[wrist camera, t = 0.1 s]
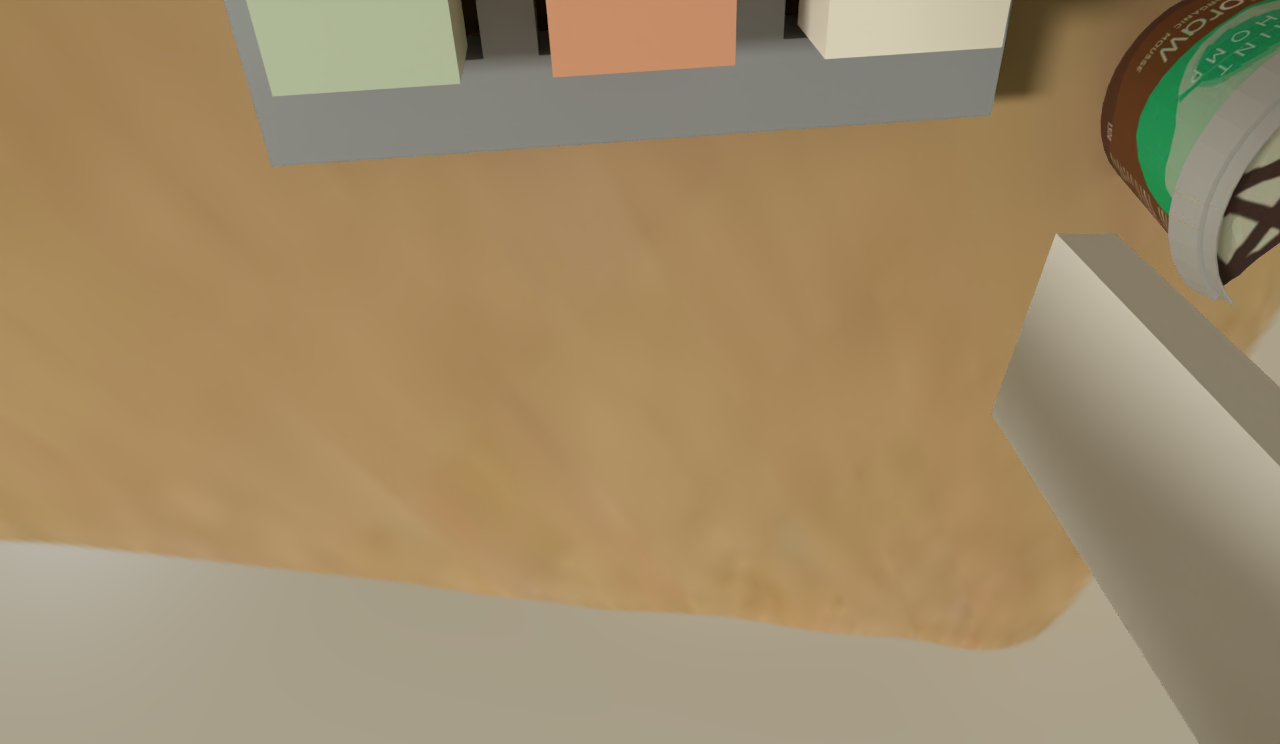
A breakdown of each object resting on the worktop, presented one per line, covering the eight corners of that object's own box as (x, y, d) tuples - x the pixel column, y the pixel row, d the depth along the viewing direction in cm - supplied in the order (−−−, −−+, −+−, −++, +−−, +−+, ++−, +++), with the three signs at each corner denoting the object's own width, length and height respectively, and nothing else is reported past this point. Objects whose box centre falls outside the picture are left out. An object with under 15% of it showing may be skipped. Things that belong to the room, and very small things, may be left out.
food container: (1279, -129, 35) (1499, -76, 27) (1346, -19, 38) (1564, 59, 30) (1014, 116, 40) (1134, 222, 32) (1090, 198, 43) (1218, 315, 35)
